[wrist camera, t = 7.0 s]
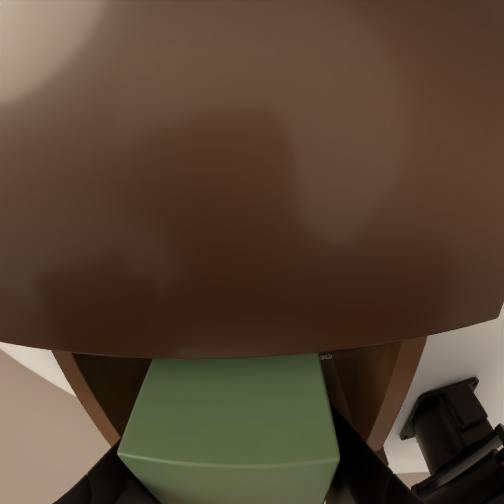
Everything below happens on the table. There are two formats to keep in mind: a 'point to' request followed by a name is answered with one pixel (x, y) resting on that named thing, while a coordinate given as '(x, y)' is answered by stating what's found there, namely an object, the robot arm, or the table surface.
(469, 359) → the table surface
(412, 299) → the cabinet
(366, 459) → the robot arm
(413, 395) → the table surface
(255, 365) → the block
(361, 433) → the drawer
